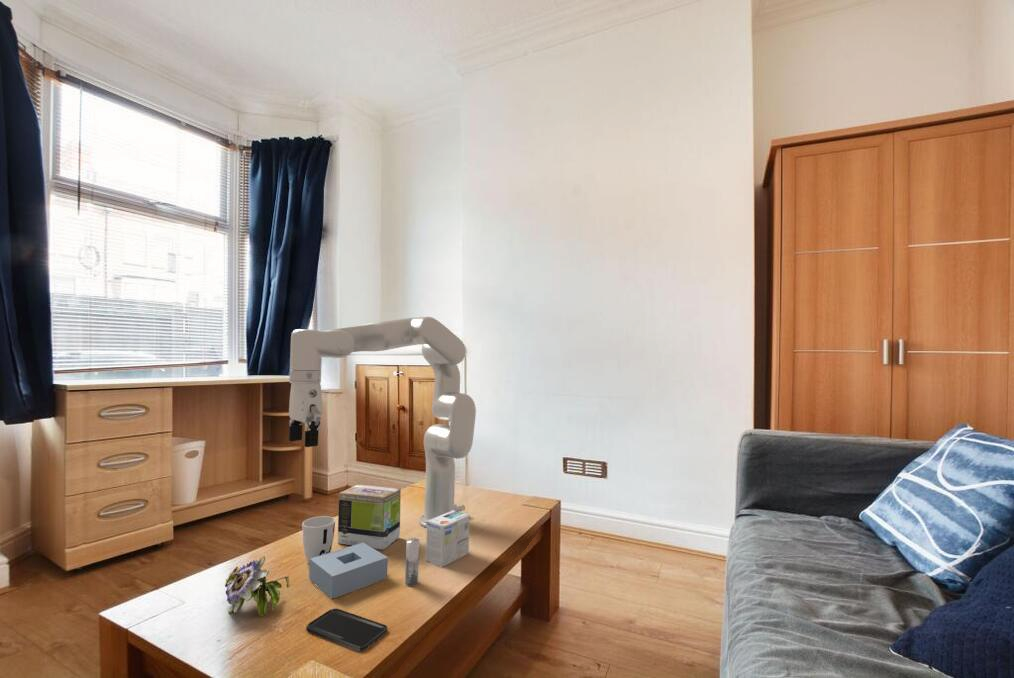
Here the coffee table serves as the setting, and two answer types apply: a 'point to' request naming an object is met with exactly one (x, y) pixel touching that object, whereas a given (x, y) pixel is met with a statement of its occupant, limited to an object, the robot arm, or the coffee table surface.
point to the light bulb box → (447, 538)
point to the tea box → (369, 516)
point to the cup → (318, 536)
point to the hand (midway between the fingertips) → (303, 443)
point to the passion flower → (252, 587)
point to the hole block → (348, 569)
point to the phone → (347, 629)
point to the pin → (412, 561)
